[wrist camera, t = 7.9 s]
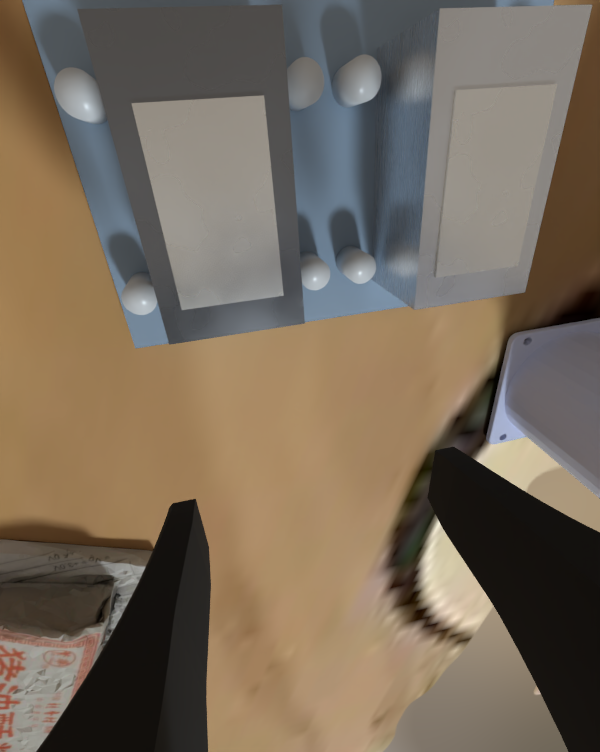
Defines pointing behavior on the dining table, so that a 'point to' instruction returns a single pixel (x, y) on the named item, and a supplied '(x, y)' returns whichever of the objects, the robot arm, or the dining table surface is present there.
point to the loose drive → (205, 159)
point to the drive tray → (308, 129)
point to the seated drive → (469, 148)
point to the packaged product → (55, 627)
